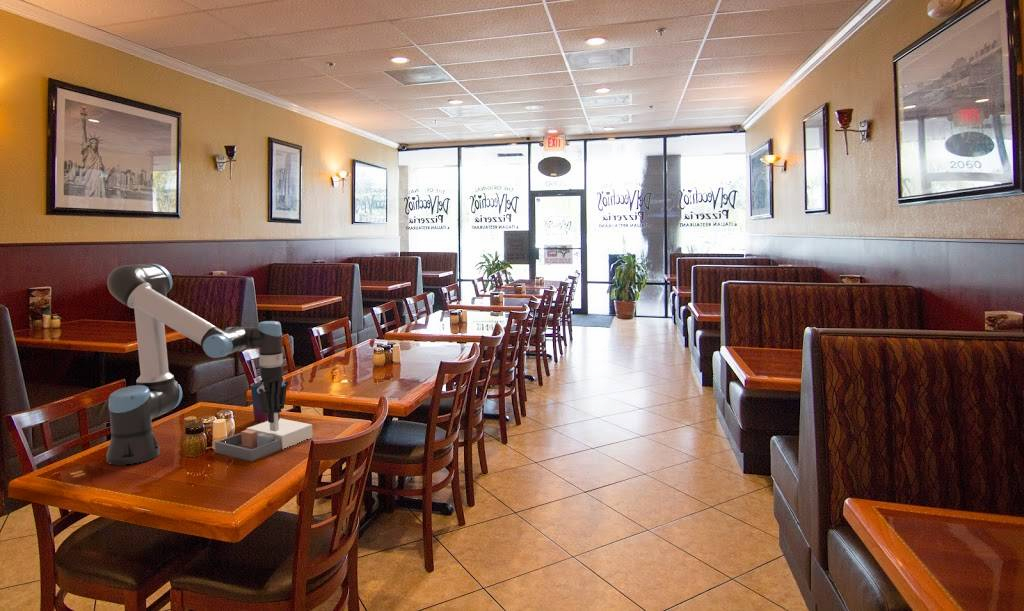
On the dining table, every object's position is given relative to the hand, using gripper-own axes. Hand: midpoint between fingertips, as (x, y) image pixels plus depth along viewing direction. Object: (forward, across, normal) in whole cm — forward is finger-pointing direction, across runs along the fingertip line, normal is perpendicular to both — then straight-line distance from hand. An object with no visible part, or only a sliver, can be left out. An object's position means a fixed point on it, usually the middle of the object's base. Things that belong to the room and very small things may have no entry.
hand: (274, 430), depth 208 cm
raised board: (+6, +6, +4) cm, 9 cm away
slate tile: (+3, -3, 0) cm, 4 cm away
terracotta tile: (+3, -3, +8) cm, 9 cm away
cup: (+6, +19, +29) cm, 35 cm away
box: (+6, -8, +4) cm, 11 cm away
